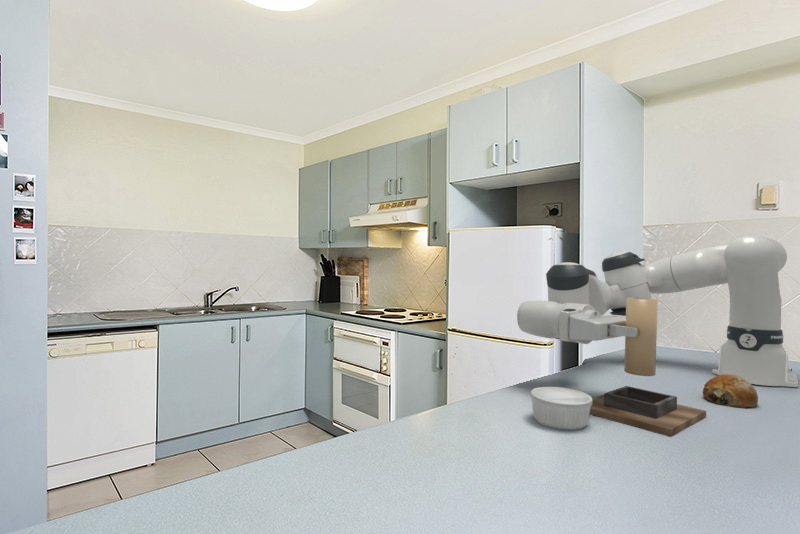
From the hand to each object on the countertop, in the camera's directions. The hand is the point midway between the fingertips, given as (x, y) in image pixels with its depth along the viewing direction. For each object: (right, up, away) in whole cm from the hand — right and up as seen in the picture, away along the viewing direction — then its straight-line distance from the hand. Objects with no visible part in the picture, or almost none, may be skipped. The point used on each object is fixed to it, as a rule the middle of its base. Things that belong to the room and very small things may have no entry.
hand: (645, 331), depth 92 cm
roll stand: (-1, -17, +1) cm, 17 cm away
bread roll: (+25, -18, +11) cm, 32 cm away
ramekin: (-19, -17, -5) cm, 26 cm away
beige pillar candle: (-1, -8, +1) cm, 9 cm away
